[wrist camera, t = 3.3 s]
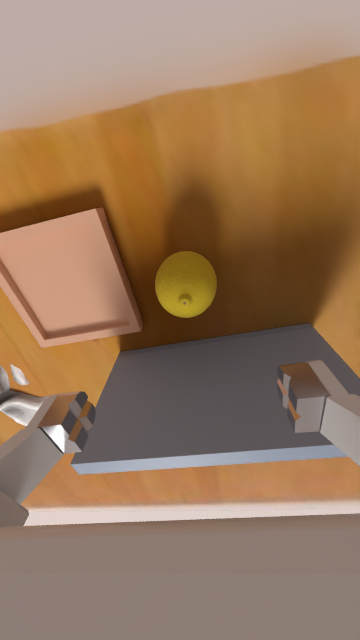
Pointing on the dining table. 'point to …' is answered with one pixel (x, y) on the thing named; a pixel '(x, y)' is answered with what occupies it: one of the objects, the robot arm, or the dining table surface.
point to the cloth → (17, 398)
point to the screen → (207, 404)
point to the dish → (68, 279)
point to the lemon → (185, 284)
